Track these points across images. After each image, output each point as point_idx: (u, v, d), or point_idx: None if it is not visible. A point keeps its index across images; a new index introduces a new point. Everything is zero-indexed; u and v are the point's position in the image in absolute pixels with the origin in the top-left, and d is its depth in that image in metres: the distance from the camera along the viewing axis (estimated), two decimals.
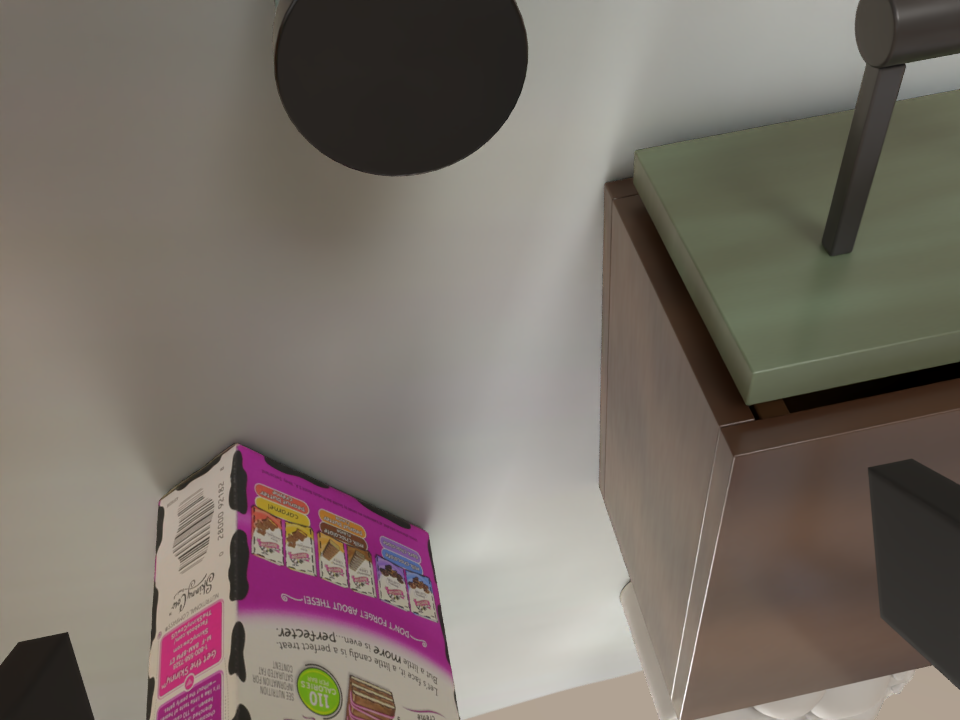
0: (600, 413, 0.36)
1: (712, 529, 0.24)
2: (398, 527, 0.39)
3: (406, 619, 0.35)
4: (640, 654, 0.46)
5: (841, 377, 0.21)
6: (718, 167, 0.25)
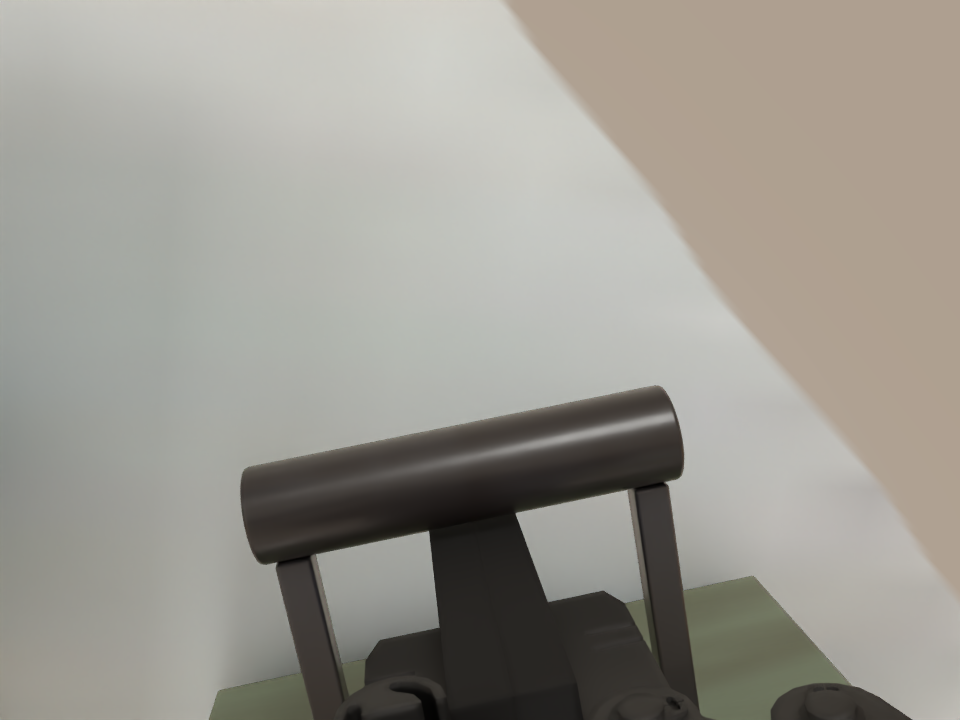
0: None
1: None
2: None
3: None
4: None
5: None
6: (294, 709, 0.20)
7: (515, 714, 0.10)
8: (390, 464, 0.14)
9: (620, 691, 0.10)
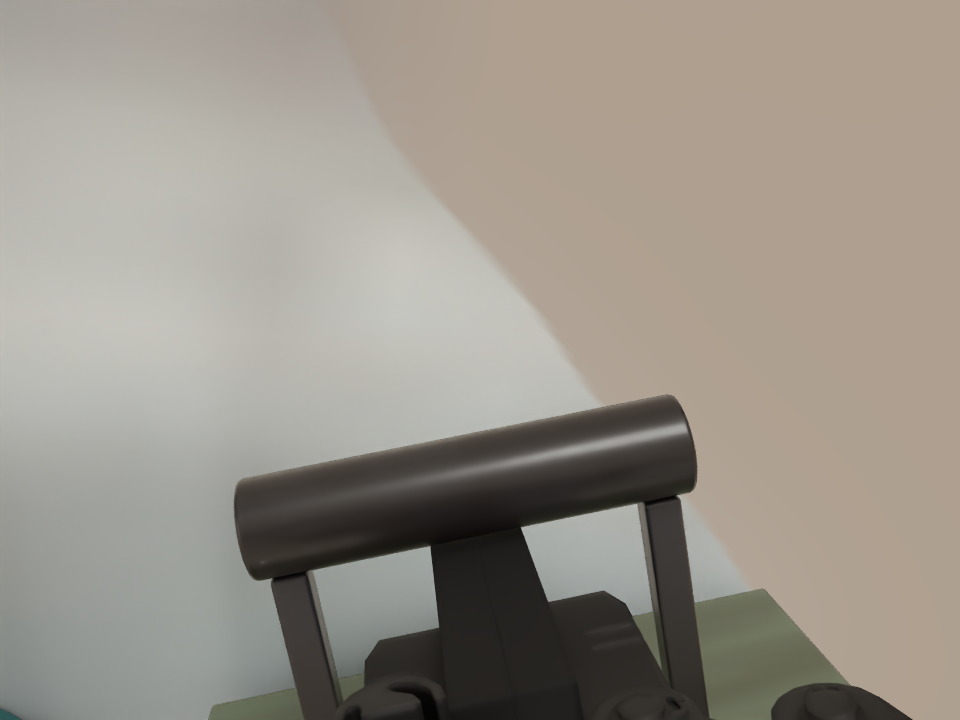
0: None
1: None
2: None
3: None
4: None
5: None
6: None
7: (514, 714, 0.10)
8: (391, 477, 0.14)
9: (620, 691, 0.10)
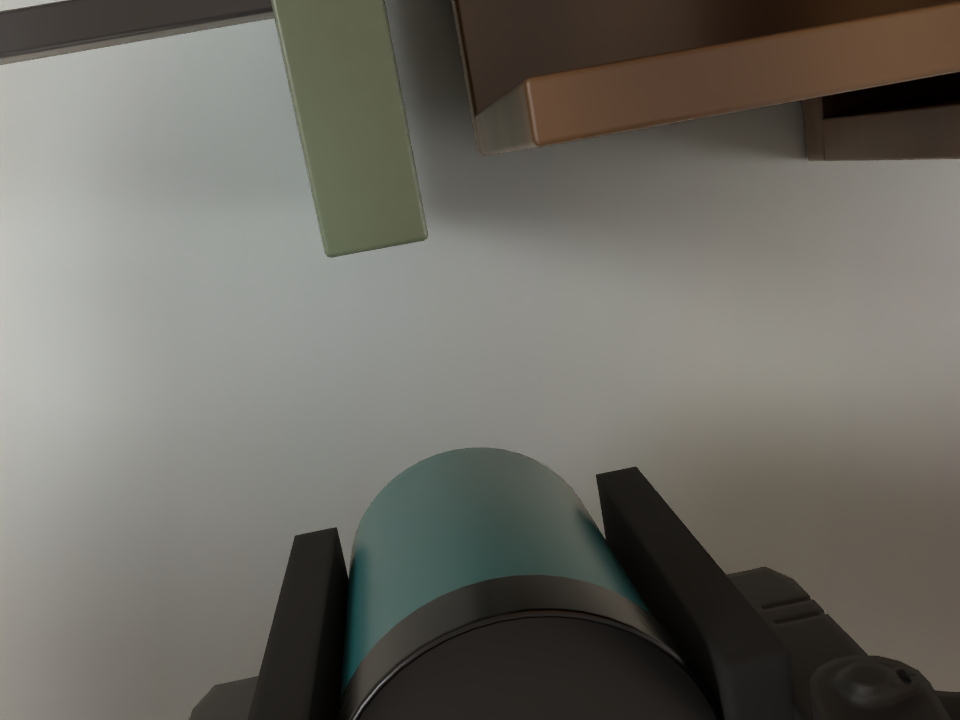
0: None
1: None
2: None
3: None
4: None
5: (356, 41, 0.10)
6: None
7: None
8: None
9: (845, 658, 0.10)
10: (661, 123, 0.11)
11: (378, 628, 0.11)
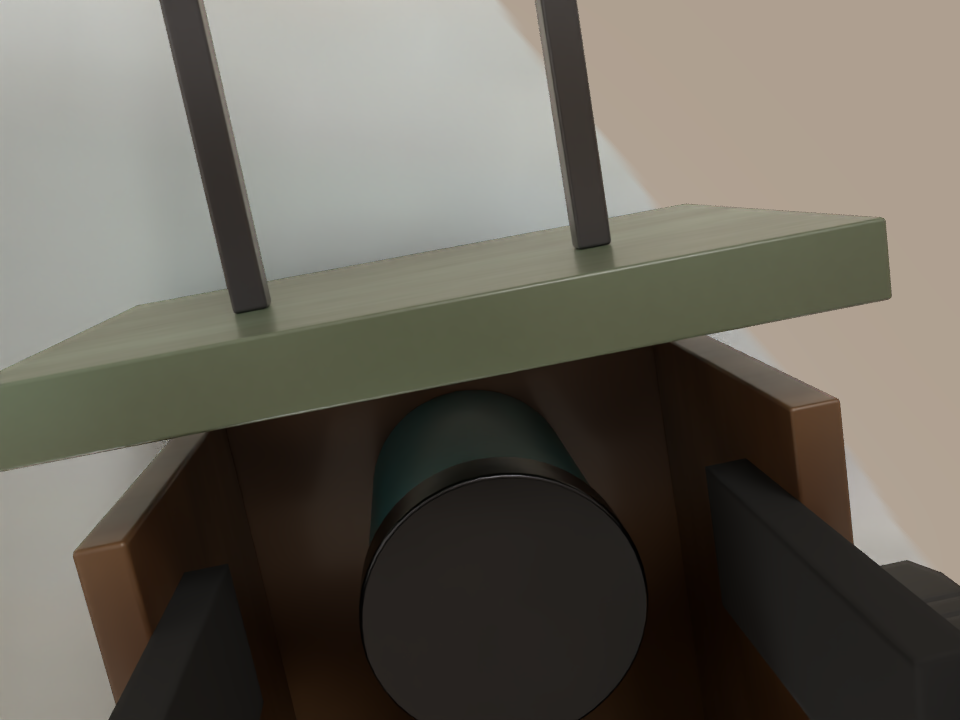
0: None
1: None
2: None
3: None
4: None
5: (134, 418, 0.12)
6: (208, 297, 0.19)
7: None
8: None
9: None
10: (100, 647, 0.13)
11: (397, 499, 0.16)
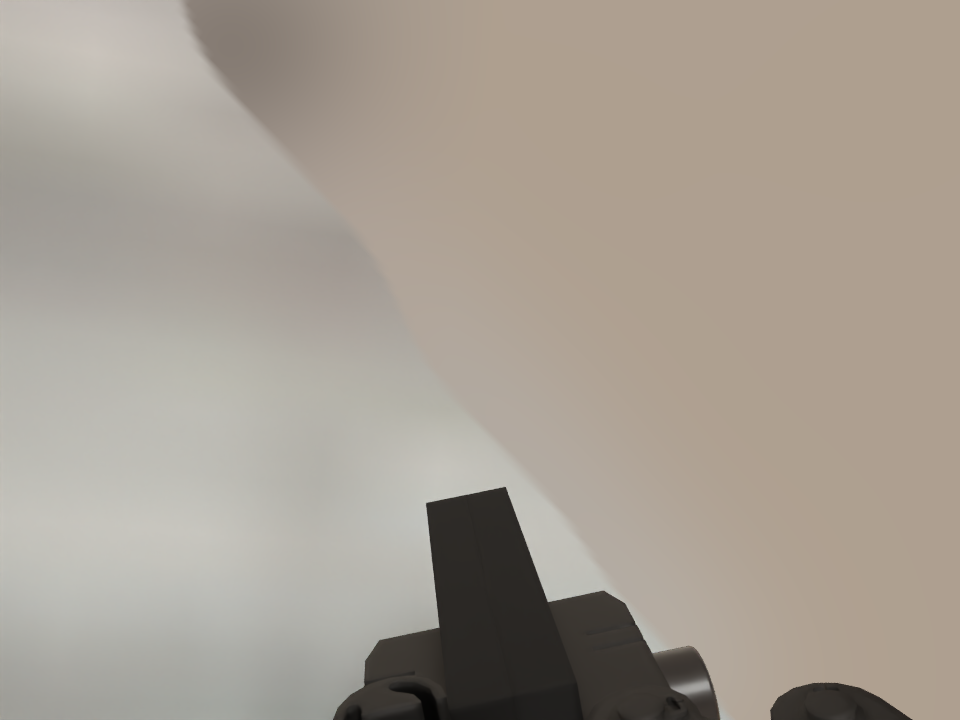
0: None
1: None
2: None
3: None
4: None
5: None
6: None
7: (515, 714, 0.10)
8: None
9: (620, 691, 0.10)
10: None
11: None
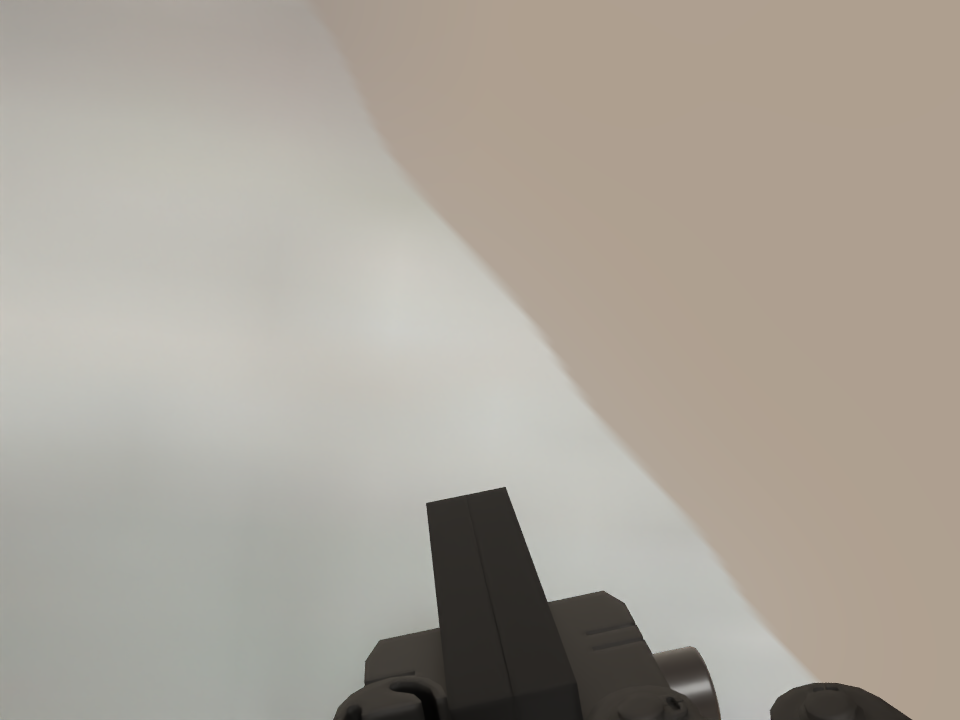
0: None
1: None
2: None
3: None
4: None
5: None
6: None
7: (515, 714, 0.10)
8: None
9: (619, 691, 0.10)
10: None
11: None
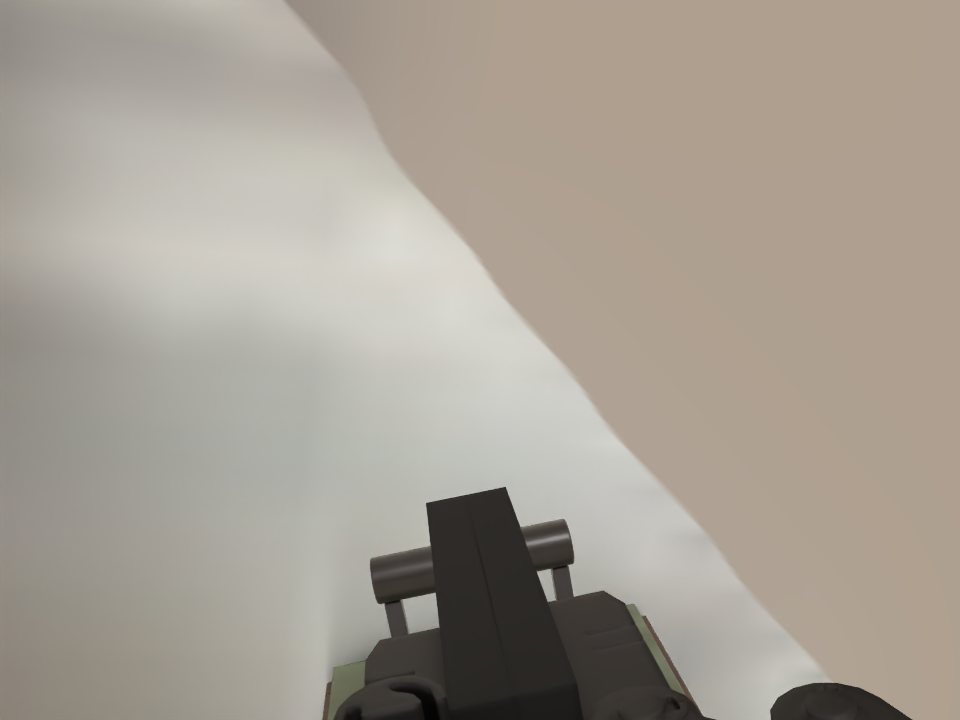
0: None
1: None
2: None
3: None
4: None
5: None
6: None
7: (515, 714, 0.10)
8: None
9: (620, 691, 0.10)
10: None
11: None
